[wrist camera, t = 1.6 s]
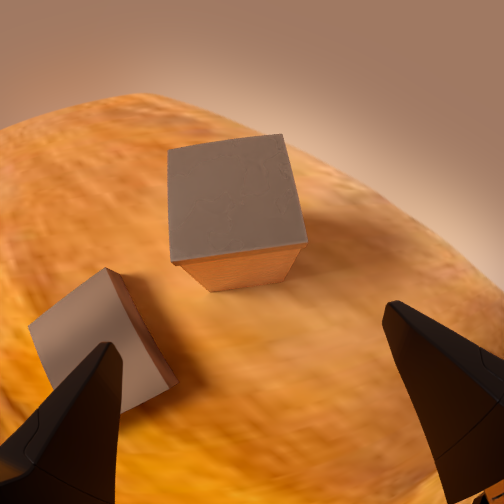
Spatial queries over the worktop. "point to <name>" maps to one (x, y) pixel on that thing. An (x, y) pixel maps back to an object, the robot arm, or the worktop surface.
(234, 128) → the worktop surface
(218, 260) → the tin
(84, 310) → the block
